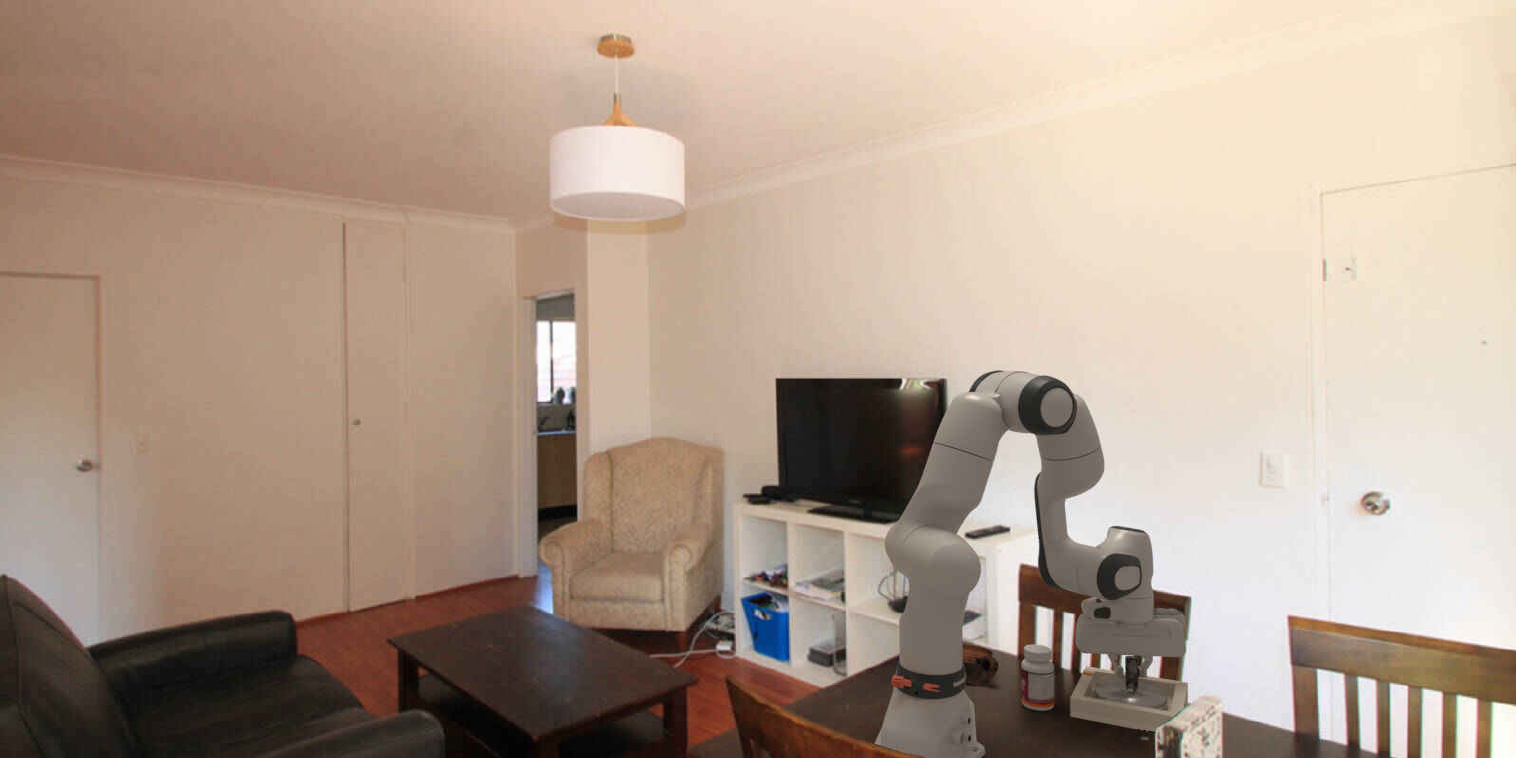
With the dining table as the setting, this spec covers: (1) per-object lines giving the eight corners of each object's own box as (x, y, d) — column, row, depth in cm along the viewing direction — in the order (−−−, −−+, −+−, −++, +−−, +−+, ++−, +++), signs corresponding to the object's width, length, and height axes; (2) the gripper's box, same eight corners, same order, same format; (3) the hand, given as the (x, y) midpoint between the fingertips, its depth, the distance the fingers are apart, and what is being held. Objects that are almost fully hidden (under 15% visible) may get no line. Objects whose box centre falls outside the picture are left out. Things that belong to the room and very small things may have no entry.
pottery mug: (940, 680, 177) (945, 641, 181) (971, 692, 181) (975, 654, 185) (981, 682, 168) (986, 642, 171) (1013, 695, 171) (1017, 655, 175)
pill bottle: (1021, 697, 166) (1021, 642, 166) (1054, 701, 164) (1053, 644, 164) (1021, 709, 160) (1020, 652, 160) (1054, 713, 158) (1054, 655, 158)
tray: (1182, 737, 147) (1181, 715, 147) (1070, 716, 157) (1070, 695, 157) (1187, 700, 164) (1187, 680, 163) (1086, 683, 173) (1086, 663, 173)
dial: (1166, 719, 151) (1165, 681, 151) (1090, 706, 158) (1090, 670, 157) (1168, 694, 163) (1168, 659, 163) (1098, 683, 169) (1097, 649, 169)
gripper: (1179, 604, 165) (1180, 672, 165) (1073, 601, 169) (1073, 668, 169) (1190, 613, 159) (1191, 684, 159) (1079, 610, 163) (1080, 679, 163)
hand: (1130, 676), depth 164 cm, fingers open, 3 cm apart
